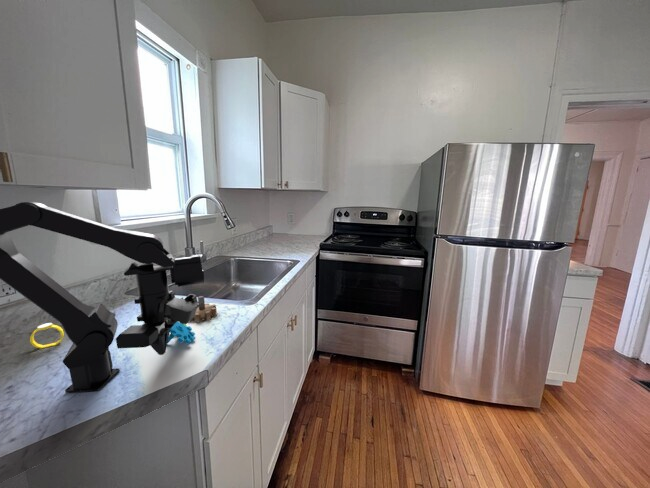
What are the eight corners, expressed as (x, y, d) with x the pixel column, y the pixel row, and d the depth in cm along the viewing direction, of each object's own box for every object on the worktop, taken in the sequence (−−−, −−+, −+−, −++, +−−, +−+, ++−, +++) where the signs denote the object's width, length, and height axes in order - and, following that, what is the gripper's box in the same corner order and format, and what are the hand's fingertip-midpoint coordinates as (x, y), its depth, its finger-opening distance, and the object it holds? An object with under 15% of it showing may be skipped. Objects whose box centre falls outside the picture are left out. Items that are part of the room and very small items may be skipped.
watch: (32, 353, 67) (25, 331, 65) (36, 348, 69) (28, 327, 68) (64, 343, 70) (58, 323, 69) (67, 339, 72) (60, 319, 71)
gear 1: (191, 345, 66) (157, 320, 64) (173, 363, 66) (139, 339, 64) (201, 329, 77) (173, 308, 75) (186, 345, 76) (158, 324, 74)
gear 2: (211, 321, 82) (209, 301, 81) (183, 322, 81) (180, 302, 80) (220, 309, 90) (219, 291, 89) (194, 310, 90) (192, 292, 89)
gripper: (169, 306, 50) (178, 379, 53) (206, 277, 69) (211, 332, 72) (108, 308, 50) (120, 382, 53) (162, 278, 68) (169, 334, 71)
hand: (162, 354), depth 62 cm, fingers closed
